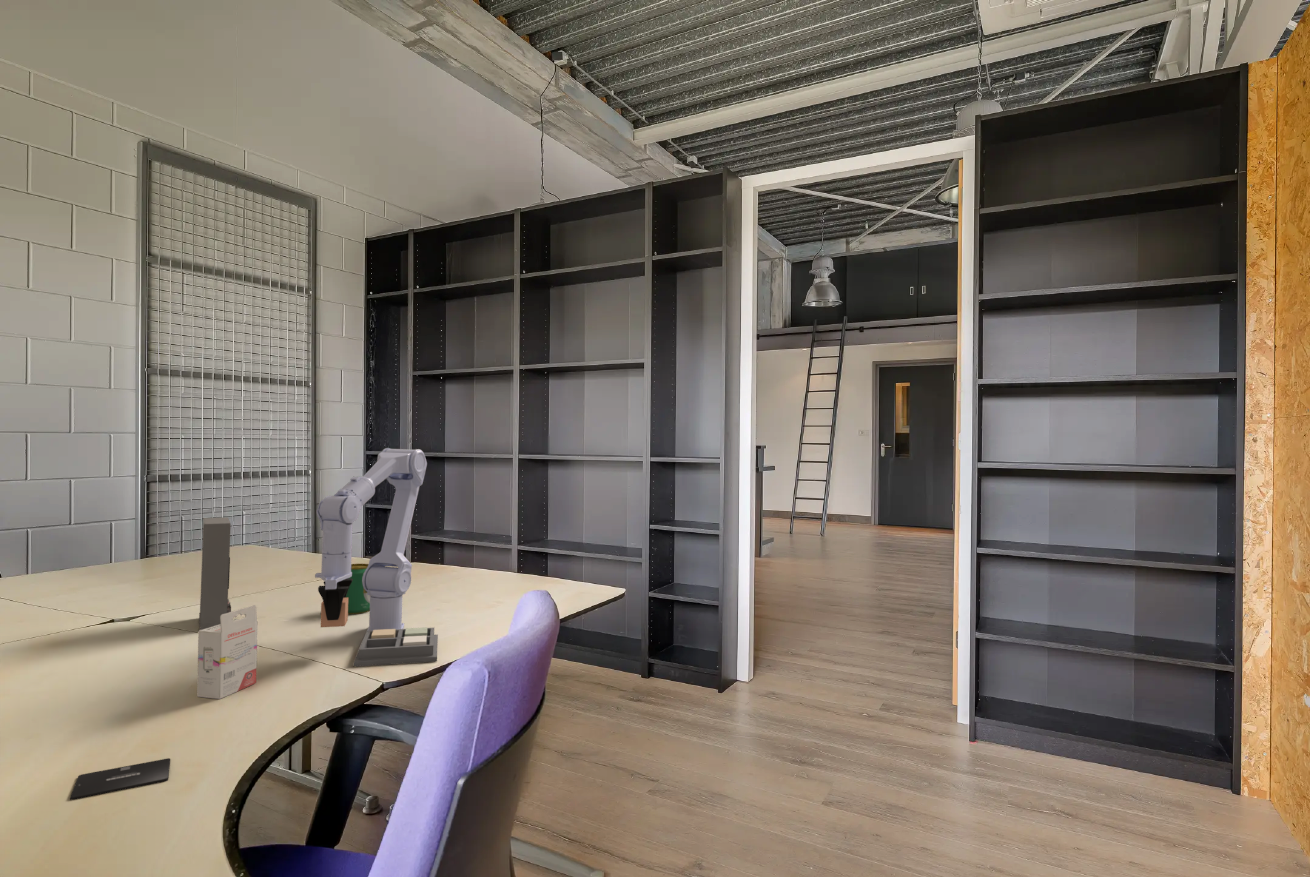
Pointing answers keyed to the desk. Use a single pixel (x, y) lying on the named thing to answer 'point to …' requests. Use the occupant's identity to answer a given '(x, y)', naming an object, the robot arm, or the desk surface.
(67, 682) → the desk surface
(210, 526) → the tall grey upright panel
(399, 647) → the frame board
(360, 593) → the beverage can
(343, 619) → the terracotta block
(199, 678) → the ink cartridge box
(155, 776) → the solid state drive
